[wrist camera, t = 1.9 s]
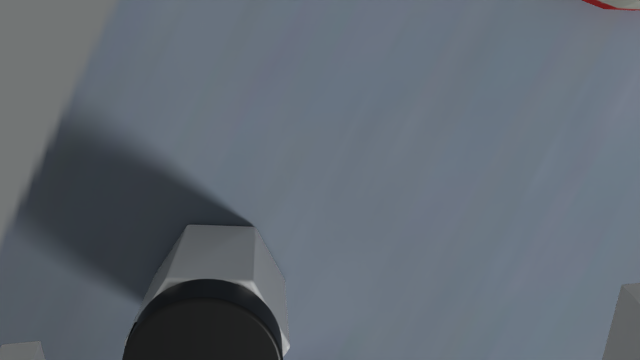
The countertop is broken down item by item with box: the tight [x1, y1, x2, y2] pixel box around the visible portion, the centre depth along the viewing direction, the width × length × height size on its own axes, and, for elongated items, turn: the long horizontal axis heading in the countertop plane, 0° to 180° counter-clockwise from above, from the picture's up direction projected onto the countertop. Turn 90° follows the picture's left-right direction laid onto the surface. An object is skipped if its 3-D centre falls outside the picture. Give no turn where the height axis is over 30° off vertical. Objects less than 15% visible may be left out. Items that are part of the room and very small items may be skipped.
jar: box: [122, 224, 290, 360], centre depth 37 cm, size 9×8×12 cm
